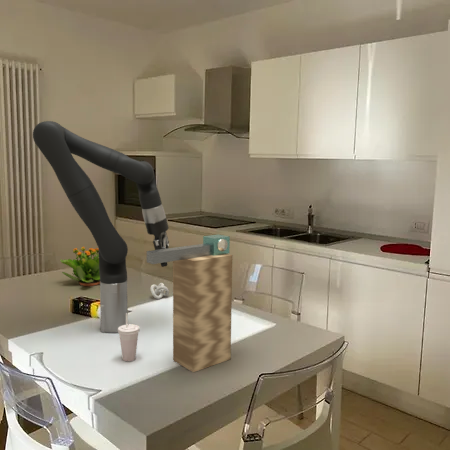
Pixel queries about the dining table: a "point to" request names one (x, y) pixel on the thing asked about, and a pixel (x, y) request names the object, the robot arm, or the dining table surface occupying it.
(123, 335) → the smoothie
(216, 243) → the bar
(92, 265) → the potted flower
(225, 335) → the stand
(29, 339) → the dining table surface
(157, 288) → the knot
